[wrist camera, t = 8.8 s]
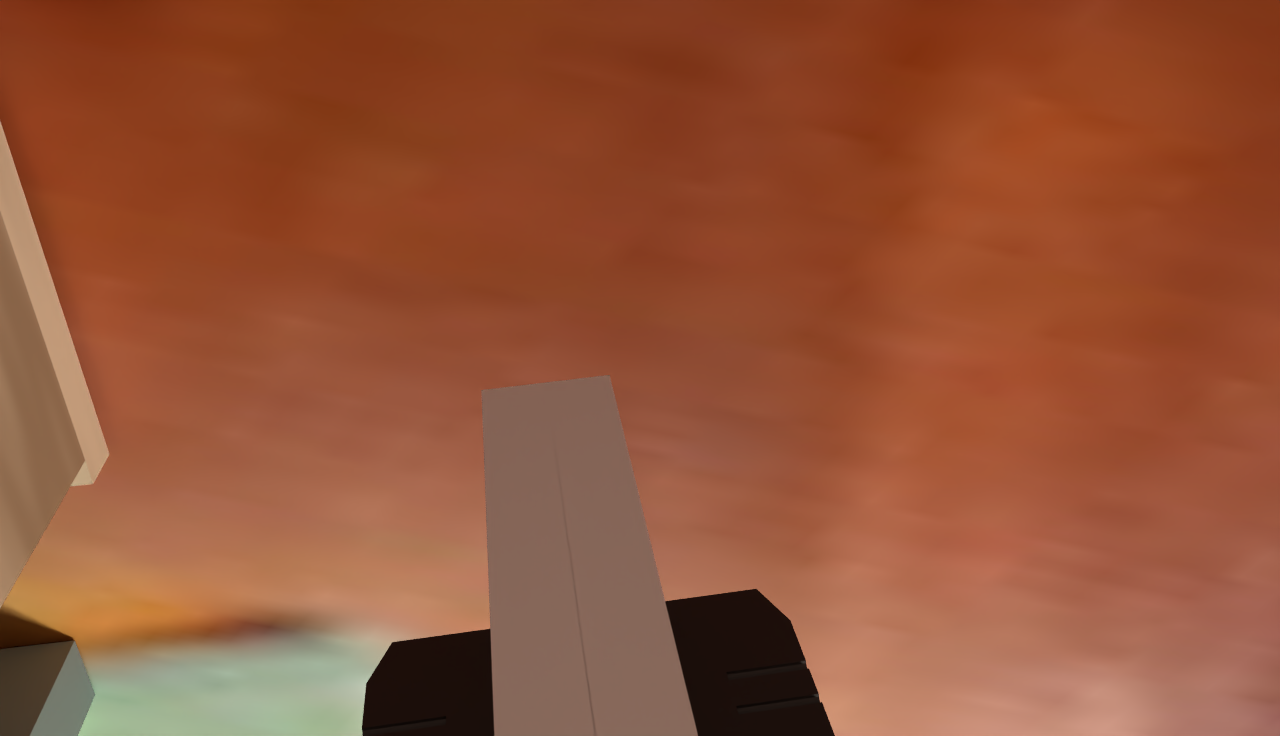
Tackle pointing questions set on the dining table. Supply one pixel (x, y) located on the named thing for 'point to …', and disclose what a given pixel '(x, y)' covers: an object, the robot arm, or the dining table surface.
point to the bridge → (43, 690)
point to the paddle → (35, 389)
